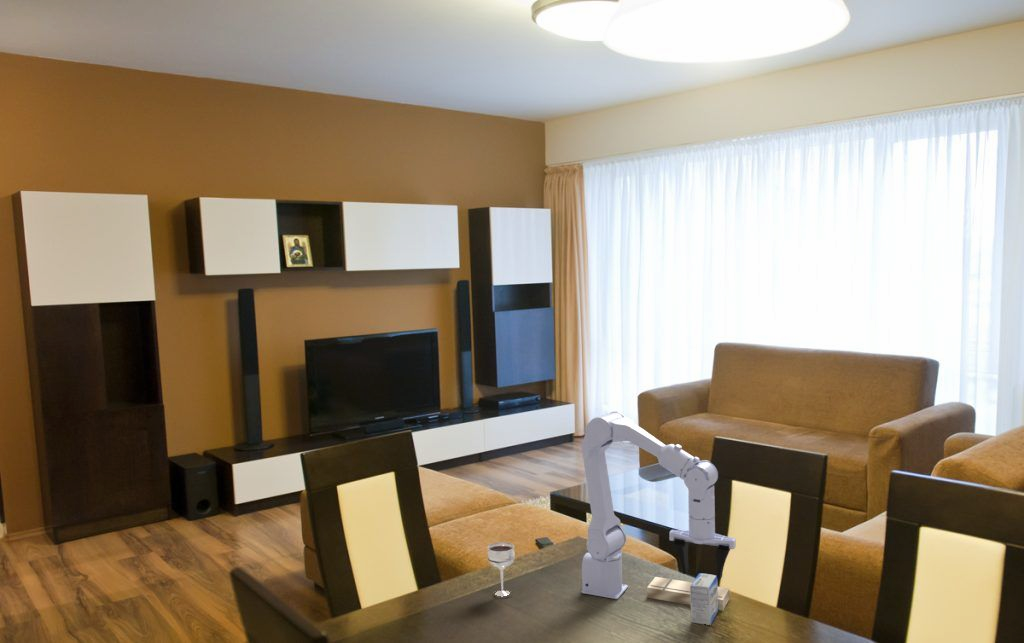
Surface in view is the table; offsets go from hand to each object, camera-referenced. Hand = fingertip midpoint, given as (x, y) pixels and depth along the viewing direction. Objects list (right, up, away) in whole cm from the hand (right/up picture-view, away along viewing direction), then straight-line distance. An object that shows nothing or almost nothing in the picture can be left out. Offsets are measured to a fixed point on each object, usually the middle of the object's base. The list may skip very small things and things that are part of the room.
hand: (702, 574), depth 174 cm
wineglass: (-46, -10, +15) cm, 49 cm away
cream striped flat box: (-1, -9, +10) cm, 13 cm away
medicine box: (0, -10, -1) cm, 10 cm away
